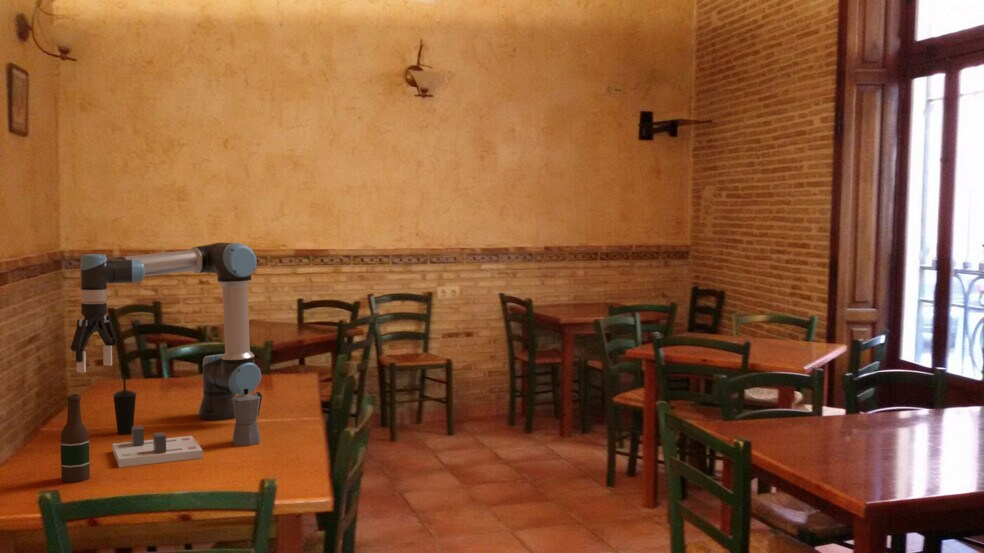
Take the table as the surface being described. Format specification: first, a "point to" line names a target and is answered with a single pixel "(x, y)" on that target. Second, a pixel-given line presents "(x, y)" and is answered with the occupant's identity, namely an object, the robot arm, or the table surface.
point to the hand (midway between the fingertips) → (94, 368)
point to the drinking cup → (124, 409)
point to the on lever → (137, 435)
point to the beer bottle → (74, 445)
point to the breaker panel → (145, 453)
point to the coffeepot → (246, 418)
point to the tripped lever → (159, 442)
